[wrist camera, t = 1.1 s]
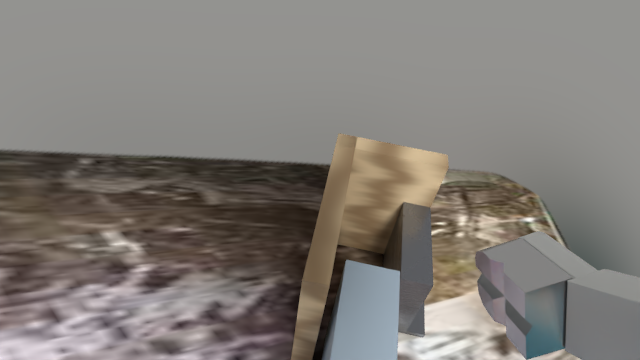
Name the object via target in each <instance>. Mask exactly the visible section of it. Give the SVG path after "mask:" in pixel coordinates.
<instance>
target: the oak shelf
mask: <svg viewBox="0 0 640 360" xmlns="http://www.w3.org/2000/svg"><path fill="white" fill-rule="evenodd" d="M448 168H449V166H448V156H447V155H445V154H440V153H435V152H430V151H425V150H420V149H415V148H410V147H405V146H400V145H395V144H390V143H385V142H380V141H374V140H370V139H365V138H360V137H355V136H349V135H344V134H338V138H337V142H336V146H335V150H334V154H333V159H332V162H331V166H330V170H329V174H328V178H327V182H326V186H325V190H324V194H323V198H322V202H321V206H320V210H319V214H318V218H317V222H316V226H315V230H314V234H313V238H312V243H311V247H310V251H309V255H308V259H307V263H306V267H305V271H304V275H303V279H302V285H301V292H300V299H299V306H298V314H297V321H296V328H295V335H294V342H293V349H292V356H291V360H312V358H313V354H314V349H315V345H316V341H317V337H318V333H319V328H320V324H321V320H322V316H323V312H324V307H325V303H326V299H327V295H328V290H329V286H330V281H331V276H332V270H333V265H334V259H335V254H336V249H337V244H339V245H344V246H349V247H353V248H358V249H362V250H367V251H372V252H376V253H381V254H384V251H385V249H386V246H387V244H388V241H389V238H390V236H391V233H392V230H393V228H394V225H395V223H396V220H397V217H398V215H399V212H400V209H401V207H402V204H403V202H407V203H412V204H417V205H421V206H426V207H431V205H432V202H433V200H434V198H435V196H436V194H437V192H438V189H439V187H440V185H441V183H442V181H443V179H444V176H445V174H446V172H447V170H448Z"/></svg>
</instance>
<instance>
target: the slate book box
mask: <svg viewBox="0 0 640 360" xmlns="http://www.w3.org/2000/svg"><path fill="white" fill-rule="evenodd" d="M399 290H400V271H396V270H392V269H387V268H382V267H378V266H373V265H369V264H364V263H359V262H355V261H350V260H346V262H345V266H344V269H343V273H342V277H341V280H340V284H339V288H338V292H337V295H336V299H335V303H334V306H333V310H332V314H331V318H330V321H329V325H328V329H327V332H326V338H325V343H324V349H323V355H322V360H397V348H398V319H399Z"/></svg>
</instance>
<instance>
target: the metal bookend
mask: <svg viewBox="0 0 640 360" xmlns="http://www.w3.org/2000/svg"><path fill="white" fill-rule="evenodd" d="M383 268H387V269H392V270H396V271H400V290H399V319H398V332H401V333H405V334H410V335H414V336H419V337H424V335H425V329H424V300H425V299H426V297H427V295H428V294H429V292H430V290H431V289H432V287H433V267H432V240H431V214H430V207H426V206H421V205H417V204H412V203H407V202H403V204H402V207H401V209H400V212H399V215H398V217H397V220H396V223H395V225H394V228H393V230H392V233H391V236H390V238H389V241H388V244H387V246H386V249H385V251H384V254H383Z"/></svg>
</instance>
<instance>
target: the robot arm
mask: <svg viewBox="0 0 640 360" xmlns="http://www.w3.org/2000/svg"><path fill="white" fill-rule="evenodd" d="M475 259H476V267H477V268H478V269H479V270H480V271H481V272H482V274H481V276H480V278H479V279H478V281H477V282H478V290H479V295H480V297H481V300H482V303H483V305H484V307H485V308H486V310H487V312H488V313H489V315H490V316H491V317H492V318H493V320H494V321H496V322H498V323H500V324H503V325H505V326H506V333H507V337H508V338H509V339H510V341H511V342H512V343H513V344H514V345H515V347H516V348H517V349H518V350H519V351H520V353H521V354H522V355H523V356H524V358H525V359H526V360H528V359H531V358H534V357H538V356H541V355H545V354H548V353H551V352H555V351H558V350H562V349H565V351H567V352H569V353H571V354H573V355H574V356H576V357H578V358H580V359H582V360H640V278H639V277H635V276H631V275H627V274H623V273H619V272H615V271H611V270H607V269H603V270H600V271H598V270H596V269H595V268H593V267H592V266H591V265H589V264H588V263H586V262H585V261H584V260H582V259H581V258H579V257H578V256H576V255H575V254H574V253H572V252H571V251H569V250H568V249H567V248H565V247H564V246H562V245H561V244H560V243H558V242H557V241H555V240H554V239H552V238H551V237H550V236H548V235H547V234H545V233H543V232H539V231H538V232H535V233H532V234H529V235H526V236H523V237H520V238H518V239H515V240H512V241H509V242H505V243H502V244H499V245H496V246H493V247H489V248H486V249H483V250H480V251H477V253H476V257H475Z"/></svg>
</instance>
